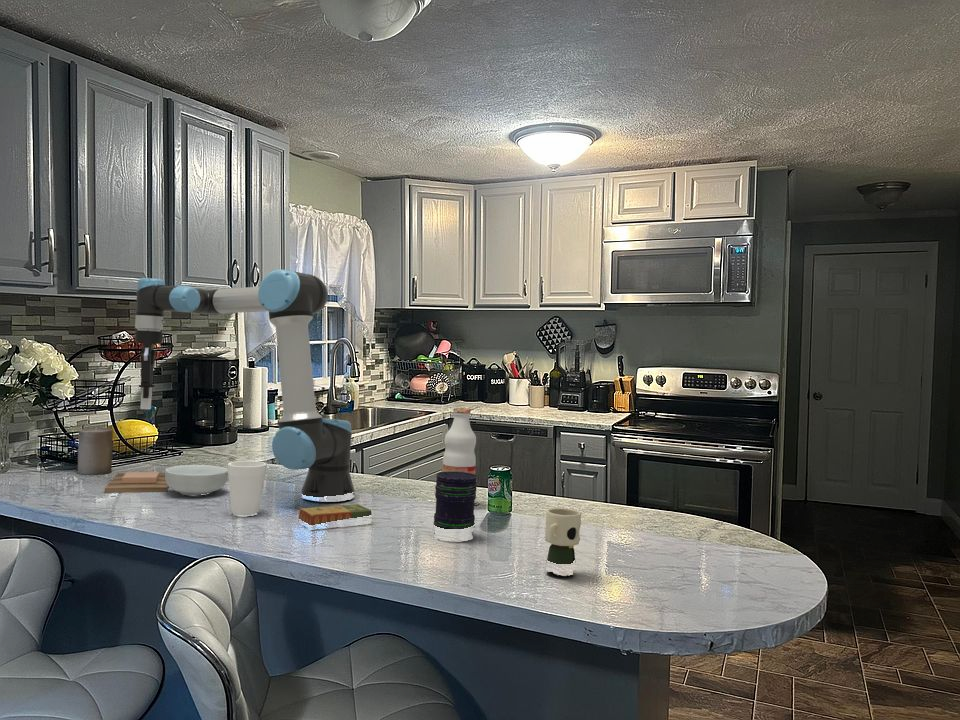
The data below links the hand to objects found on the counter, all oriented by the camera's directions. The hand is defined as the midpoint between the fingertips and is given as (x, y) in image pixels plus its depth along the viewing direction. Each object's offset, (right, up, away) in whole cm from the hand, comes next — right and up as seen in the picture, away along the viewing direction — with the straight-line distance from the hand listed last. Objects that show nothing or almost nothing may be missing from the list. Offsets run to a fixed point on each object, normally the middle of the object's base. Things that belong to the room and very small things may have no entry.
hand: (145, 408), depth 214 cm
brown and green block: (+64, -27, -36) cm, 78 cm away
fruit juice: (+93, -28, -9) cm, 98 cm away
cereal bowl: (+19, -24, -10) cm, 32 cm away
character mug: (+117, -30, -67) cm, 138 cm away
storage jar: (+94, -28, -43) cm, 107 cm away
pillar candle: (-23, -21, +13) cm, 34 cm away
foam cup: (+40, -25, -31) cm, 56 cm away
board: (-1, -22, -1) cm, 22 cm away
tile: (-2, -20, +2) cm, 20 cm away
